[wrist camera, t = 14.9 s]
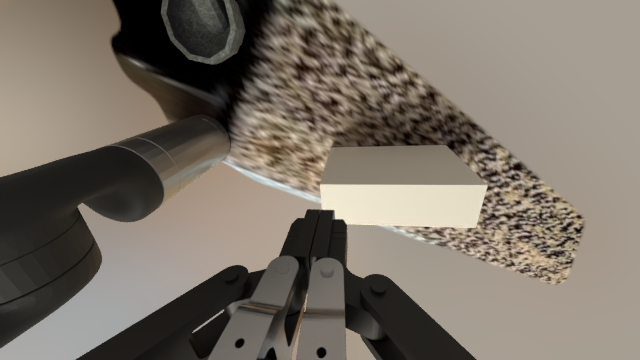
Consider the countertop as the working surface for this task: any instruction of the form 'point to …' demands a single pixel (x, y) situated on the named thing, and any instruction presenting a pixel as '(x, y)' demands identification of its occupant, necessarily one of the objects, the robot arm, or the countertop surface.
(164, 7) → the mortar and pestle
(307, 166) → the countertop surface
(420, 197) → the control box
